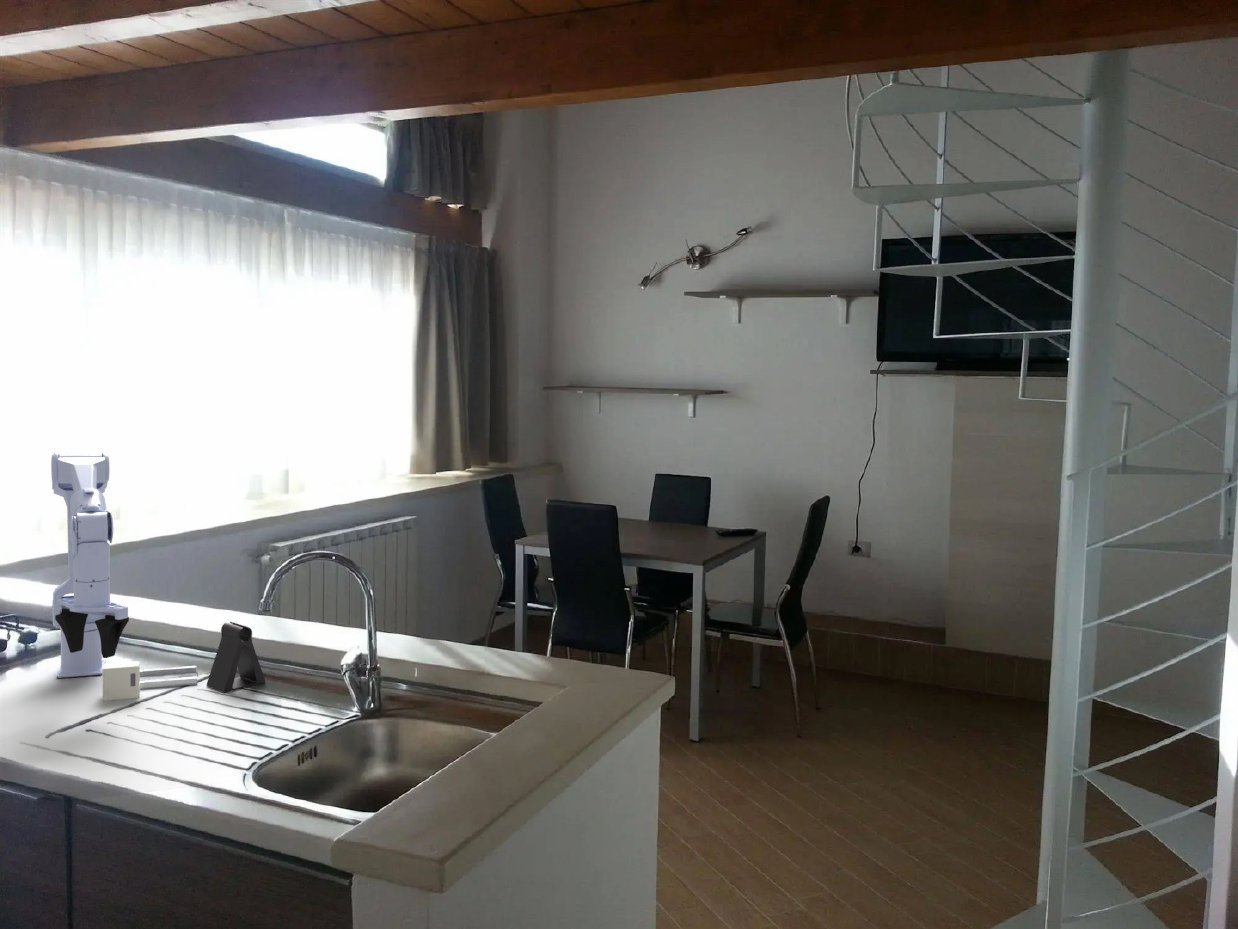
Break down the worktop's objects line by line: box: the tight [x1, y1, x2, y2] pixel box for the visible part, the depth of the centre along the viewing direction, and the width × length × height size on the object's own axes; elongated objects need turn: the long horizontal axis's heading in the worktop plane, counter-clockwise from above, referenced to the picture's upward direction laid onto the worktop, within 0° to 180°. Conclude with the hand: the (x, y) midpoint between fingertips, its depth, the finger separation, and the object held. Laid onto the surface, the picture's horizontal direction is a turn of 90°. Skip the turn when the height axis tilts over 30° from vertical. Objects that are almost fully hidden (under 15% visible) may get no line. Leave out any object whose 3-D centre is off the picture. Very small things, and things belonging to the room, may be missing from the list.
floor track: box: [140, 665, 198, 690], centre depth 191 cm, size 9×16×1 cm, turn 114°
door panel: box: [101, 661, 141, 702], centre depth 182 cm, size 3×6×6 cm, turn 114°
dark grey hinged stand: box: [206, 621, 266, 694], centre depth 191 cm, size 9×6×12 cm, turn 143°
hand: (92, 654), depth 175 cm, fingers open, 7 cm apart
